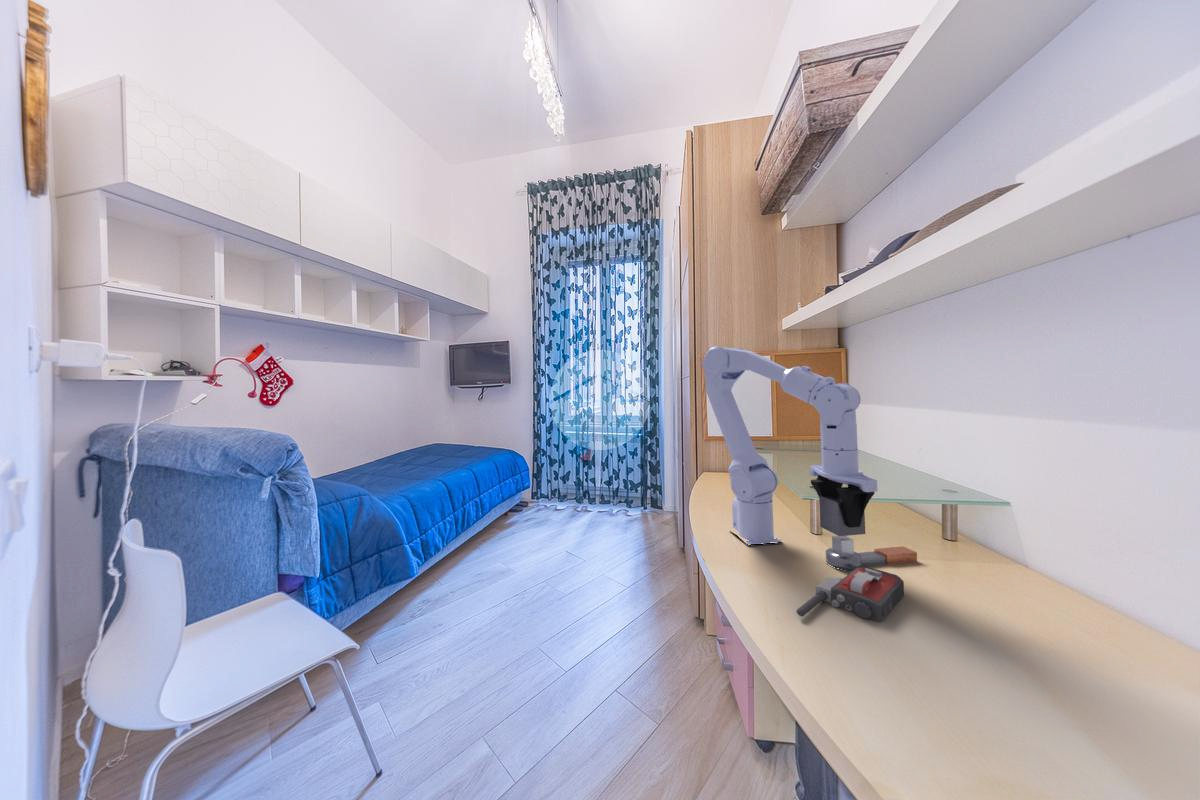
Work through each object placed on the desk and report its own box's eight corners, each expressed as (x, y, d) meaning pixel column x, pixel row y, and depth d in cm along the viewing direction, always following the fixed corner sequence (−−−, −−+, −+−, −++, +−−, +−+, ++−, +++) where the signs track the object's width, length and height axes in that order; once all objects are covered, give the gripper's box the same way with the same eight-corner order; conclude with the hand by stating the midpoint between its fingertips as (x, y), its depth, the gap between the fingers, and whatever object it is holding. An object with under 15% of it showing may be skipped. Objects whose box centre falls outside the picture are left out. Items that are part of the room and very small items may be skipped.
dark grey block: (820, 526, 72) (819, 495, 72) (844, 524, 72) (843, 493, 72) (839, 536, 67) (838, 502, 67) (865, 534, 67) (864, 500, 67)
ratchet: (840, 572, 67) (839, 545, 67) (819, 559, 72) (818, 533, 72) (924, 565, 68) (923, 537, 68) (897, 552, 74) (896, 527, 74)
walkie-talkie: (847, 575, 66) (791, 619, 54) (845, 550, 66) (790, 589, 54) (909, 594, 59) (861, 650, 47) (908, 567, 59) (860, 615, 47)
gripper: (892, 452, 63) (896, 533, 63) (831, 442, 77) (834, 508, 77) (853, 455, 62) (857, 536, 62) (799, 444, 77) (802, 511, 77)
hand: (842, 521), depth 70 cm, fingers closed on dark grey block, 5 cm apart
